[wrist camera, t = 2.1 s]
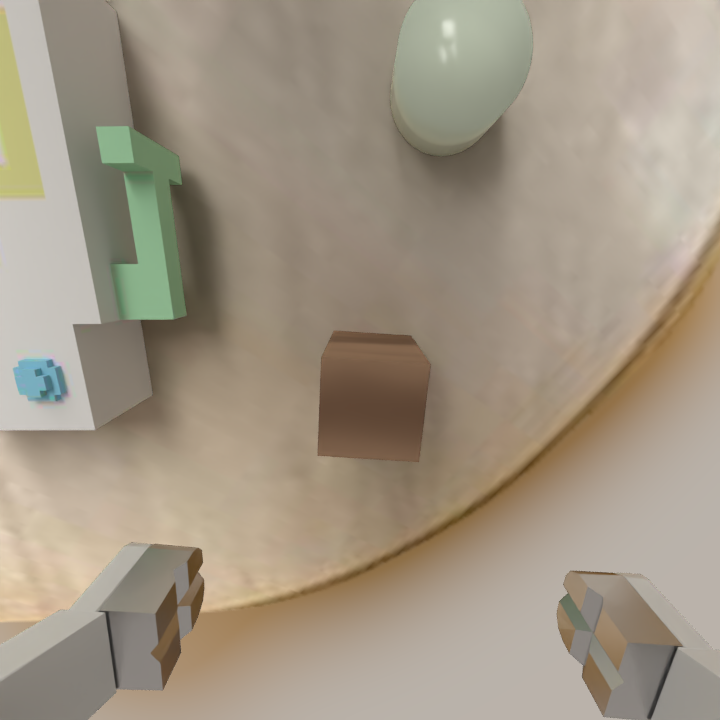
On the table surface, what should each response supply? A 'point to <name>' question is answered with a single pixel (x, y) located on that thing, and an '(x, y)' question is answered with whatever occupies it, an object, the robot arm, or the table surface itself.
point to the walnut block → (372, 397)
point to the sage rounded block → (458, 70)
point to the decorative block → (77, 221)
